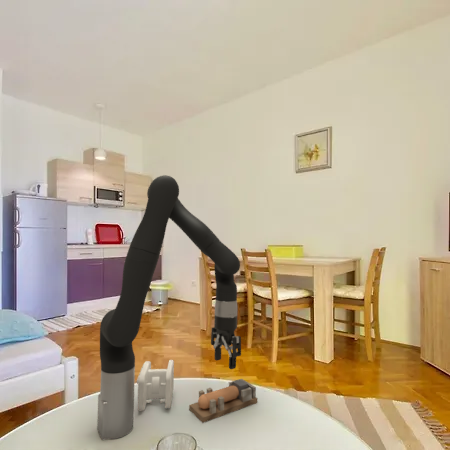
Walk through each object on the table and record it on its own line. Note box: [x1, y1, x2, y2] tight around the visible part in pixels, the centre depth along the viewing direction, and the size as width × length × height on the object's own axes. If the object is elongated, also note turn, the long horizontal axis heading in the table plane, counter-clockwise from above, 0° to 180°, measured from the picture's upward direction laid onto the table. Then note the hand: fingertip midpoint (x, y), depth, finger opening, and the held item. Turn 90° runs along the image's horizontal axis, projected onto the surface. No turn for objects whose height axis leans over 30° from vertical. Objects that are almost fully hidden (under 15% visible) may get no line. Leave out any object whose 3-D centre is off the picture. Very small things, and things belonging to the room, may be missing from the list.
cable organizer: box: [136, 359, 175, 412], centre depth 103 cm, size 15×11×12 cm
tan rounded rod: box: [197, 378, 248, 409], centre depth 100 cm, size 18×4×4 cm, turn 124°
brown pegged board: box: [188, 378, 258, 424], centre depth 101 cm, size 21×9×5 cm, turn 124°
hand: (224, 364), depth 101 cm, fingers open, 8 cm apart
